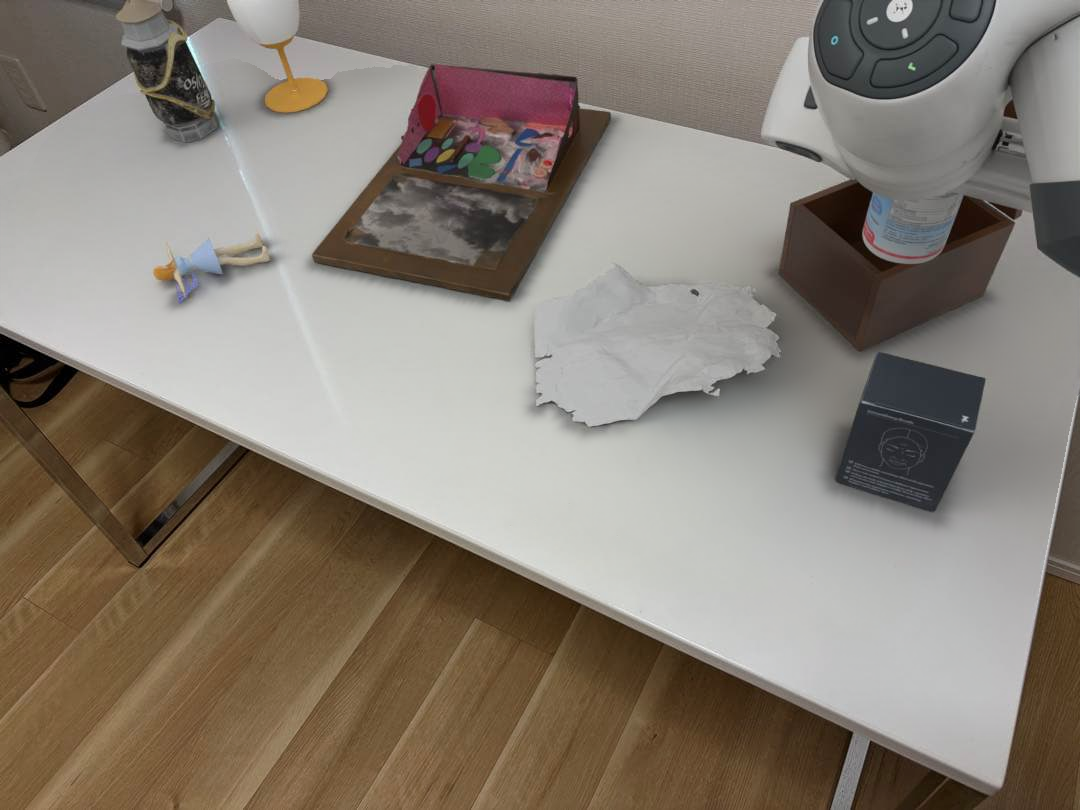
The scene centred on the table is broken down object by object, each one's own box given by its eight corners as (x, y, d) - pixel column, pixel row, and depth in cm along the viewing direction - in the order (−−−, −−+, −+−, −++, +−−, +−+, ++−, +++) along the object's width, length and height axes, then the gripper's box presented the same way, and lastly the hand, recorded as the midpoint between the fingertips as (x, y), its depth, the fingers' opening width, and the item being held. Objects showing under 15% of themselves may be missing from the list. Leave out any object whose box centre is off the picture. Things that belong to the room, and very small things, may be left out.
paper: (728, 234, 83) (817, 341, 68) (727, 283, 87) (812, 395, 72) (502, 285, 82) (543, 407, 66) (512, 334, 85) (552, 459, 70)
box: (946, 461, 67) (989, 376, 59) (933, 515, 64) (976, 433, 56) (849, 432, 70) (877, 347, 62) (832, 482, 67) (859, 400, 59)
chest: (859, 351, 75) (880, 280, 69) (778, 273, 83) (790, 202, 76) (983, 296, 78) (1015, 222, 72) (894, 225, 86) (915, 153, 79)
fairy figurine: (272, 255, 87) (156, 288, 83) (282, 290, 91) (172, 323, 87) (245, 201, 94) (137, 229, 90) (255, 235, 97) (152, 264, 94)
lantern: (236, 120, 113) (153, -76, 93) (193, 151, 108) (97, -47, 89) (193, 108, 116) (104, -84, 97) (150, 137, 112) (49, -57, 93)
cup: (337, 80, 117) (302, -37, 105) (312, 114, 112) (272, -5, 99) (281, 78, 119) (240, -37, 107) (254, 111, 114) (207, -6, 101)
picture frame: (614, 120, 104) (613, 58, 97) (509, 303, 84) (498, 241, 78) (445, 99, 111) (433, 40, 105) (311, 262, 91) (287, 203, 85)
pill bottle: (869, 211, 66) (905, 82, 58) (949, 227, 64) (998, 96, 56) (852, 257, 63) (887, 128, 54) (936, 275, 61) (986, 144, 52)
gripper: (1145, 105, 42) (1102, 167, 54) (773, 30, 51) (809, 98, 63) (1089, 223, 43) (1060, 257, 56) (735, 130, 52) (777, 178, 64)
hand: (924, 172), depth 59 cm, fingers closed on pill bottle, 6 cm apart
